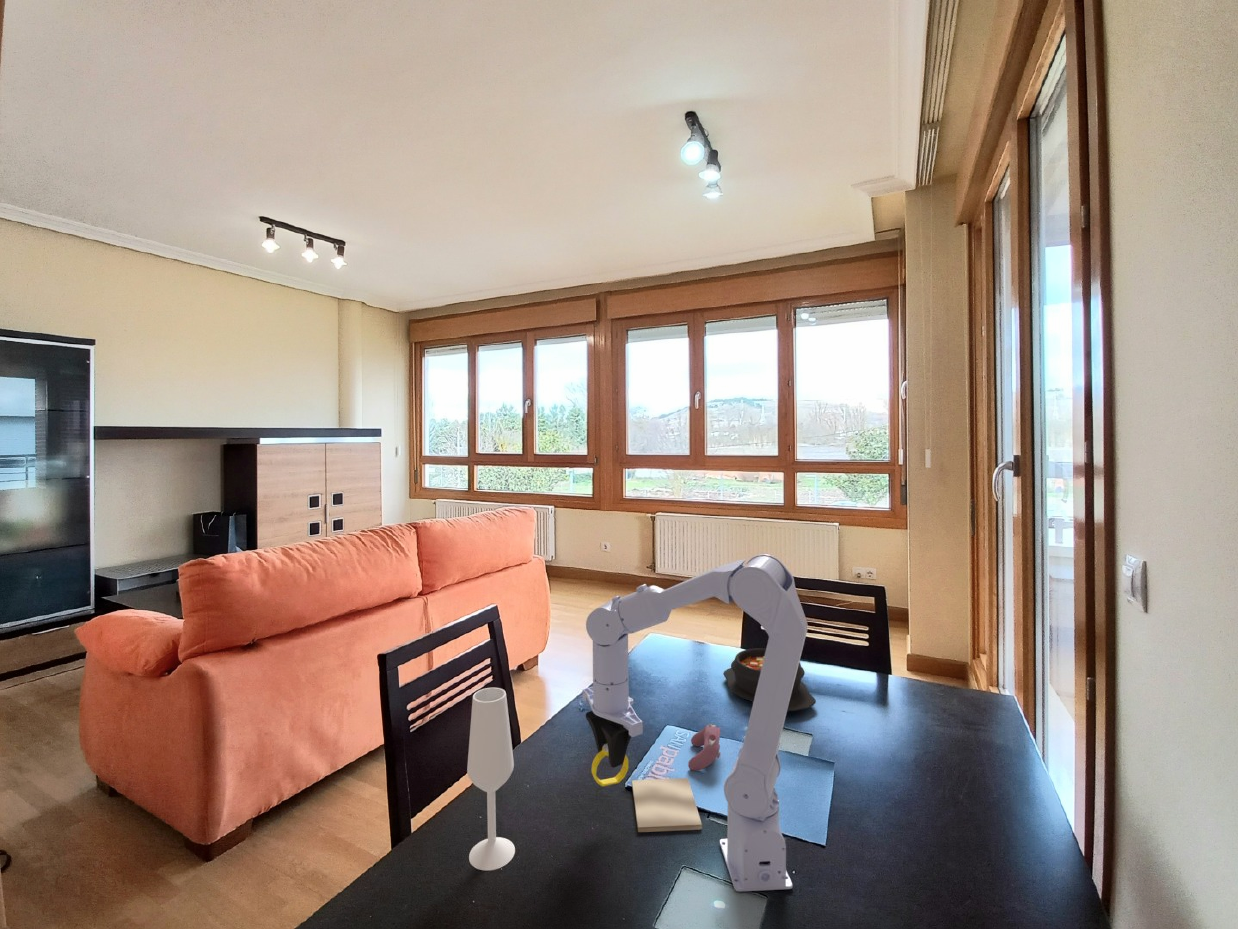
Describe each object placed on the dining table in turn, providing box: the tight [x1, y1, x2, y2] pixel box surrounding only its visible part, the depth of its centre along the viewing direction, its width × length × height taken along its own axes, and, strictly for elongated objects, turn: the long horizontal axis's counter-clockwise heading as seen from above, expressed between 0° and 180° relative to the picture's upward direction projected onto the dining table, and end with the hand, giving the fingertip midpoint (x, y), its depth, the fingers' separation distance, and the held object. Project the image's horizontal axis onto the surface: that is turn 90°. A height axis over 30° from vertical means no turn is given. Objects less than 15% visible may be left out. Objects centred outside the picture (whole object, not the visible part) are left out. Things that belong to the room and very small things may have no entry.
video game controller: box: [687, 722, 722, 772], centre depth 107 cm, size 10×5×7 cm, turn 169°
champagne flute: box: [466, 687, 516, 871], centre depth 83 cm, size 7×7×24 cm
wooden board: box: [631, 777, 703, 833], centre depth 94 cm, size 12×10×1 cm
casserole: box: [723, 647, 817, 712], centre depth 134 cm, size 25×19×8 cm
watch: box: [591, 744, 629, 788], centre depth 91 cm, size 6×3×6 cm, turn 114°
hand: (611, 760), depth 91 cm, fingers closed on watch, 3 cm apart
